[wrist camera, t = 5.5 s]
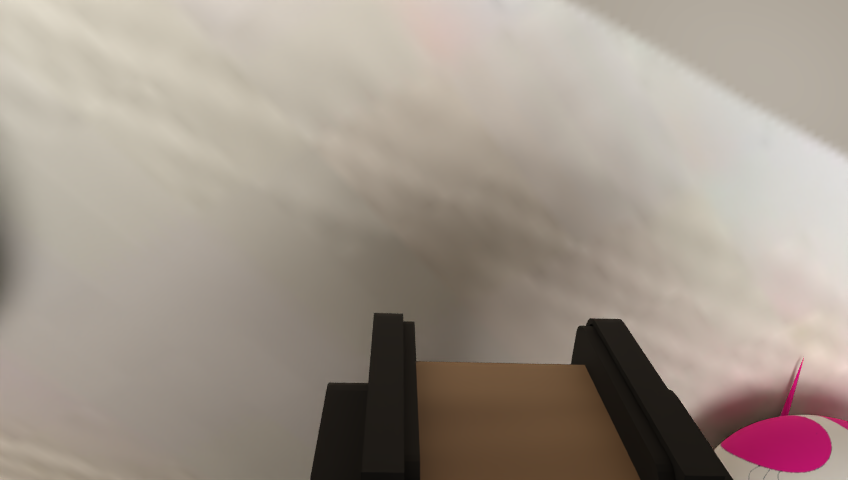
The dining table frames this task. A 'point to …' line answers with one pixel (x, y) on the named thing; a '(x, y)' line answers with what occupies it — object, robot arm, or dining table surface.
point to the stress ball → (788, 447)
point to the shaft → (515, 424)
